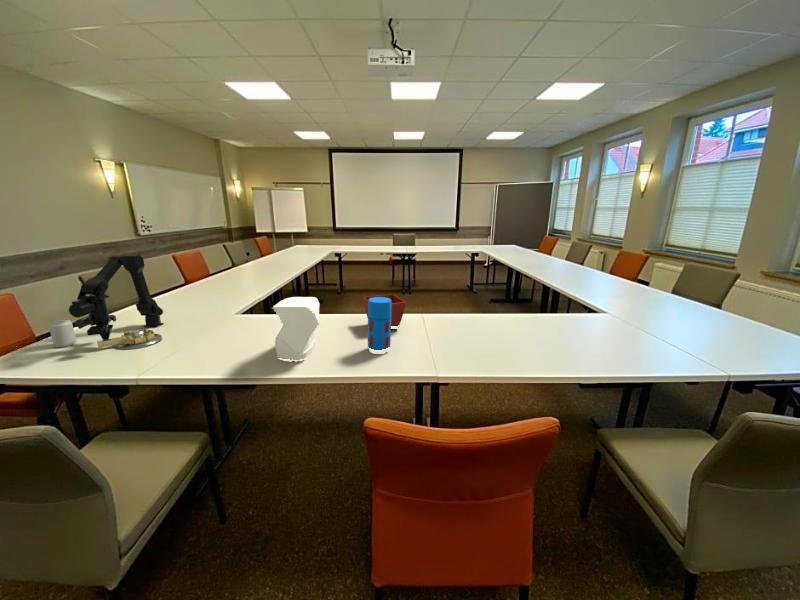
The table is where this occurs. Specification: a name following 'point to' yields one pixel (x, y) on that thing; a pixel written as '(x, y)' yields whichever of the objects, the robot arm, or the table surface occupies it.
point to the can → (62, 333)
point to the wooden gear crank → (127, 339)
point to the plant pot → (396, 308)
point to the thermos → (379, 323)
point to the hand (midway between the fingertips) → (106, 341)
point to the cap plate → (140, 345)
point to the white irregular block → (297, 327)
